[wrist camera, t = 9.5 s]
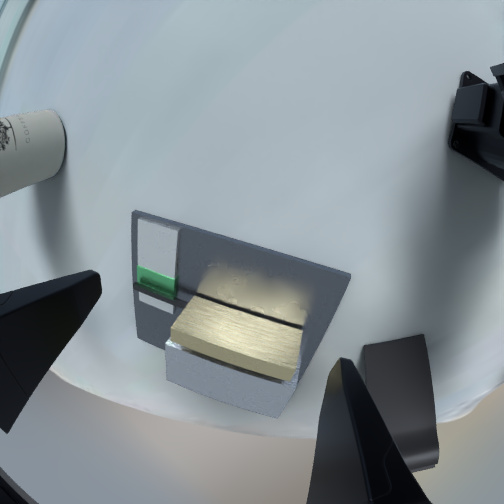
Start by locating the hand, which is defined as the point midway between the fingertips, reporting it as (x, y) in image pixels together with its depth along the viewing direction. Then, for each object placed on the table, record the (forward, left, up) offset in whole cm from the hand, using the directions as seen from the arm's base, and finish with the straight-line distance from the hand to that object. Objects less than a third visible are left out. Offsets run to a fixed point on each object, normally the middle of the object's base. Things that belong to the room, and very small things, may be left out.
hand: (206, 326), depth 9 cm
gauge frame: (+2, +11, -13) cm, 17 cm away
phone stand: (-16, +12, -13) cm, 24 cm away
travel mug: (+26, -2, -13) cm, 29 cm away
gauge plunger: (+3, +13, -12) cm, 18 cm away
